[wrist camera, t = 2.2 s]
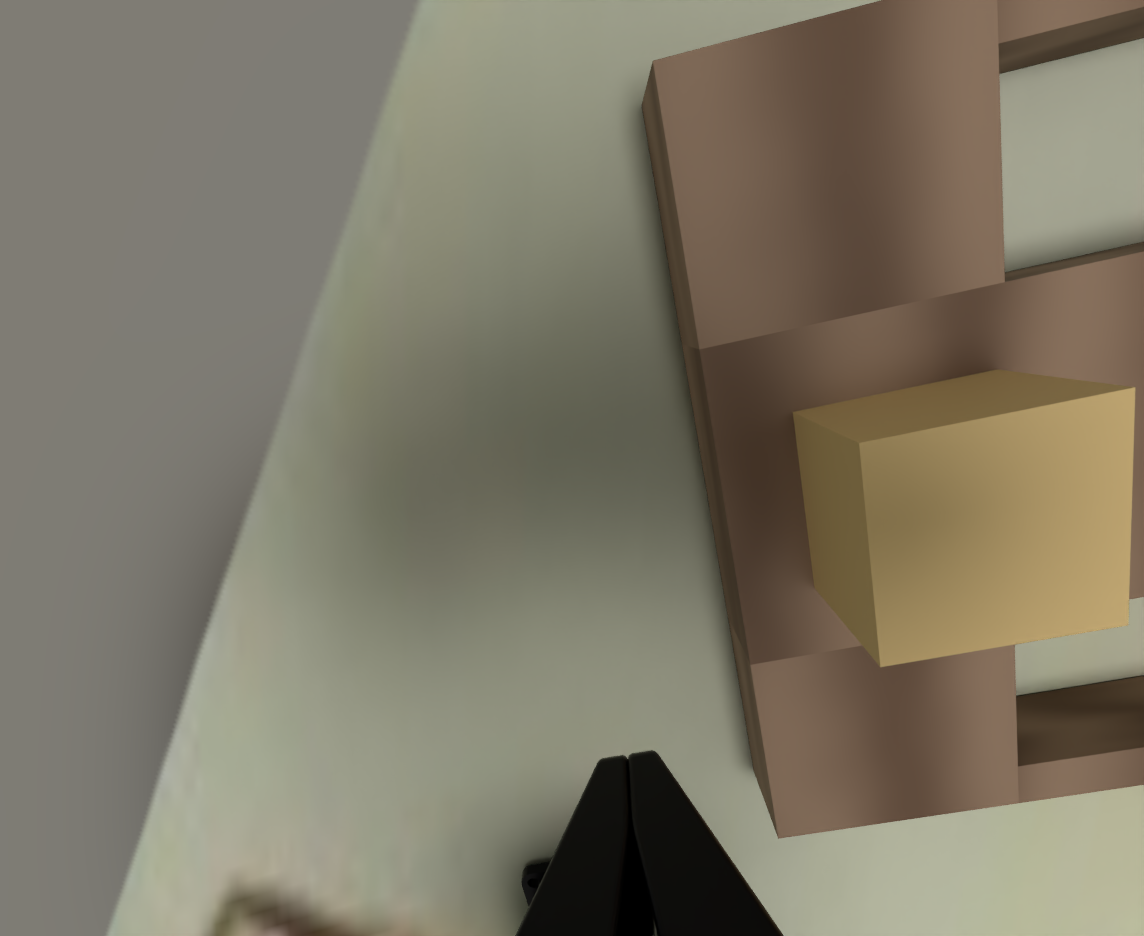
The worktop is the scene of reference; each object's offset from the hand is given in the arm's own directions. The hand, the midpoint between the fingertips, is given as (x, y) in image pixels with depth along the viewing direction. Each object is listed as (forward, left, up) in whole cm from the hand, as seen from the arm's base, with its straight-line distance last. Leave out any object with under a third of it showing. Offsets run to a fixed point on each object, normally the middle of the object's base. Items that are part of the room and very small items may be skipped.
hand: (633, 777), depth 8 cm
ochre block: (+8, 0, -9) cm, 12 cm away
